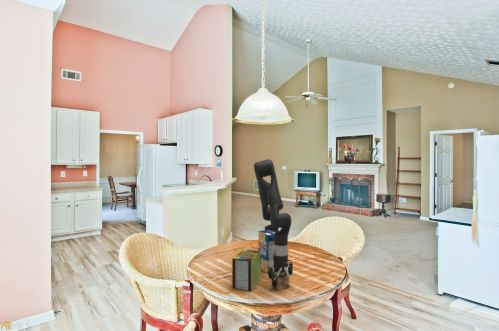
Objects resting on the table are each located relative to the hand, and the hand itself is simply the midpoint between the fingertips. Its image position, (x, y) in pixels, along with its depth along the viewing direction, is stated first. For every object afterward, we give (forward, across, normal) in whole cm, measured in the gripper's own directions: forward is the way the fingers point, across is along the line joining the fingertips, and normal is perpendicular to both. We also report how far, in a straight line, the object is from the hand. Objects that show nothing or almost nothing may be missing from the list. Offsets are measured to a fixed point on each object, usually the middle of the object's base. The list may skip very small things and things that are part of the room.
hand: (280, 285), depth 143 cm
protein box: (+1, +13, -12) cm, 18 cm away
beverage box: (+1, -7, -22) cm, 23 cm away
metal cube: (+1, 0, 0) cm, 1 cm away
